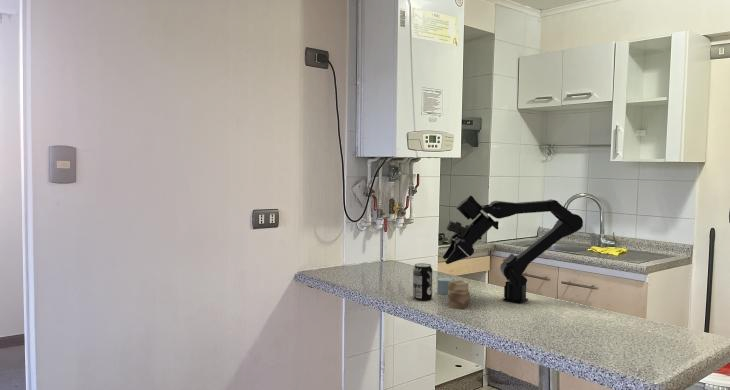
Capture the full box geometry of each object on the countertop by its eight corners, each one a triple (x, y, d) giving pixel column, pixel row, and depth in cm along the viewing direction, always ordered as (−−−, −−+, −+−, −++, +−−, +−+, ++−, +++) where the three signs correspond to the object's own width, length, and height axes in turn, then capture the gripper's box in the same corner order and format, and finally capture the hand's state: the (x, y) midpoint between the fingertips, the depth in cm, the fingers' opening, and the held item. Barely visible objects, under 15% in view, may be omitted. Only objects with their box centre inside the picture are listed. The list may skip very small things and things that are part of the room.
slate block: (453, 291, 194) (453, 278, 194) (451, 295, 189) (451, 281, 189) (439, 290, 195) (440, 277, 195) (437, 293, 190) (437, 280, 190)
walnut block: (469, 306, 174) (469, 291, 174) (463, 309, 170) (463, 294, 169) (455, 304, 177) (455, 289, 176) (449, 307, 172) (449, 292, 172)
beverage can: (431, 296, 186) (432, 263, 186) (432, 301, 180) (432, 266, 179) (413, 296, 187) (413, 262, 186) (412, 300, 180) (413, 266, 180)
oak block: (468, 296, 187) (468, 282, 186) (457, 298, 184) (458, 284, 184) (458, 293, 191) (458, 280, 191) (448, 295, 188) (448, 281, 188)
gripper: (457, 210, 190) (426, 240, 191) (464, 215, 171) (430, 248, 173) (479, 232, 190) (448, 262, 191) (488, 239, 171) (454, 272, 173)
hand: (444, 260), depth 182 cm, fingers open, 9 cm apart
